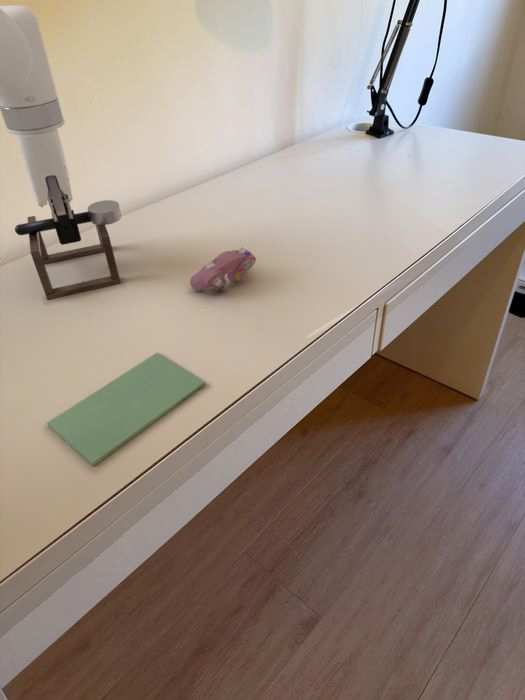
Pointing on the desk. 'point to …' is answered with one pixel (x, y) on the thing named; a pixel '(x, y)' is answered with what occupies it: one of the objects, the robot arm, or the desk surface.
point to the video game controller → (223, 269)
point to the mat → (124, 407)
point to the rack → (43, 258)
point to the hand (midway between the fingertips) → (70, 238)
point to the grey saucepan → (78, 218)
